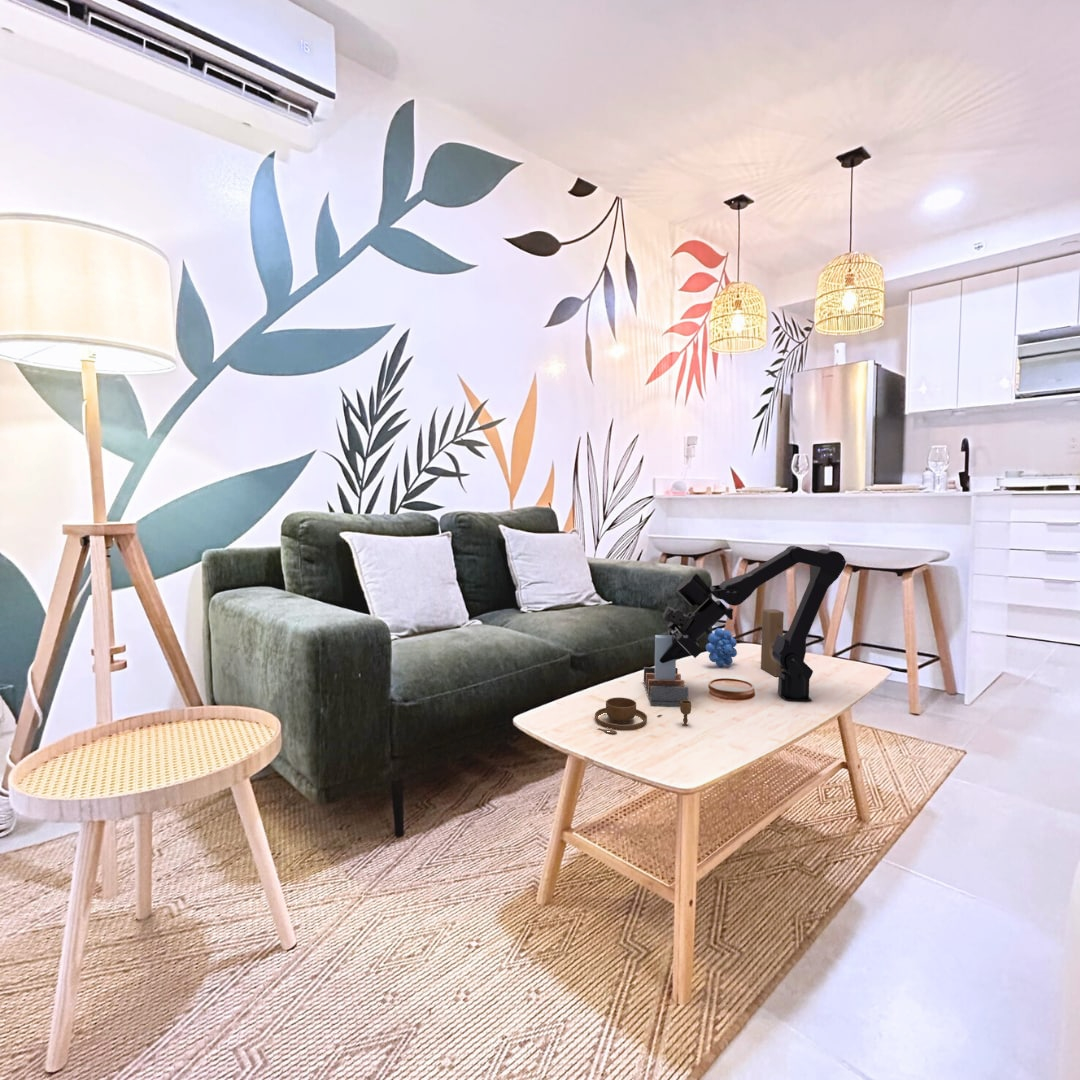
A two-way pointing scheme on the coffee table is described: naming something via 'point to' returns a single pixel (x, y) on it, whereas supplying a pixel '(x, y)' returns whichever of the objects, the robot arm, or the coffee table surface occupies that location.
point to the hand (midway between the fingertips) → (659, 660)
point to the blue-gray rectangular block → (661, 645)
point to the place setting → (630, 714)
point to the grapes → (721, 647)
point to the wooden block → (770, 639)
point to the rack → (664, 689)
